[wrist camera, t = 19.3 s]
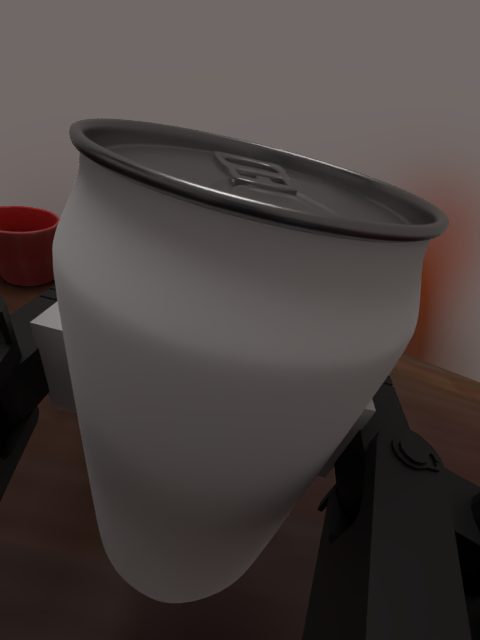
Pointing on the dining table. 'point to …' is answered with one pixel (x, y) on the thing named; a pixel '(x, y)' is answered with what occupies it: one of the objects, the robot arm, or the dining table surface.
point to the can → (222, 335)
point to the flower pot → (27, 245)
